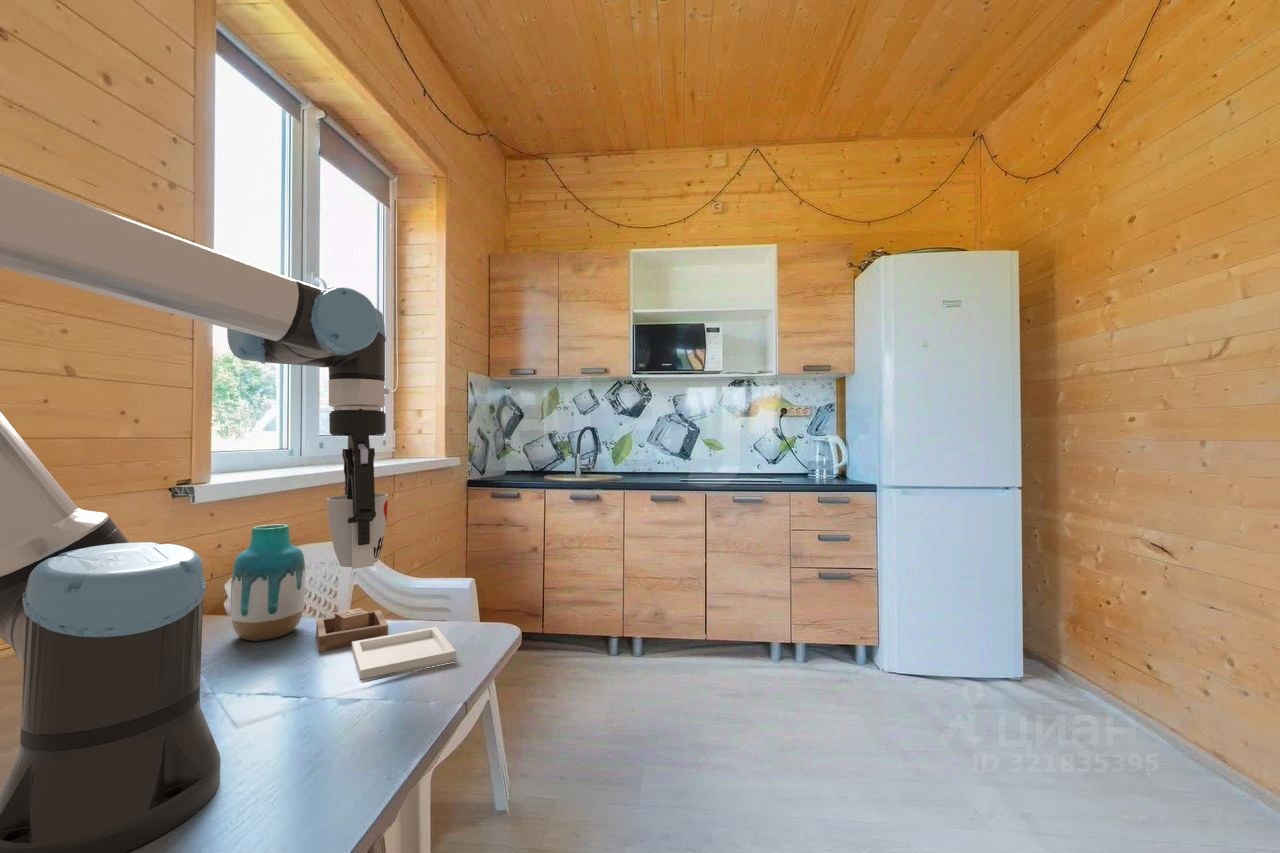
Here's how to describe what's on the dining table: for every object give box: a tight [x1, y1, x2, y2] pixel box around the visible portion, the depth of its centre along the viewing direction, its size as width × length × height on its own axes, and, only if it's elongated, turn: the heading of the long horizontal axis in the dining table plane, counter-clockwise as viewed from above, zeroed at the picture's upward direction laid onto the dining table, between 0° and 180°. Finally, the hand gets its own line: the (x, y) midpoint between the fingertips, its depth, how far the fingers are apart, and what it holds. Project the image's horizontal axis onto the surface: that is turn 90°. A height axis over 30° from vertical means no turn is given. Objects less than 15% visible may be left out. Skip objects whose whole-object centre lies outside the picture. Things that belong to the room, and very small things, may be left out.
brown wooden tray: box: [315, 609, 389, 653], centre depth 91 cm, size 10×10×3 cm
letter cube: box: [334, 607, 369, 632], centre depth 91 cm, size 4×4×4 cm
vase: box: [230, 523, 306, 642], centre depth 93 cm, size 11×11×19 cm
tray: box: [351, 626, 457, 684], centre depth 84 cm, size 13×13×2 cm
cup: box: [326, 492, 389, 568], centre depth 80 cm, size 8×8×10 cm
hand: (359, 561), depth 80 cm, fingers closed on cup, 8 cm apart
